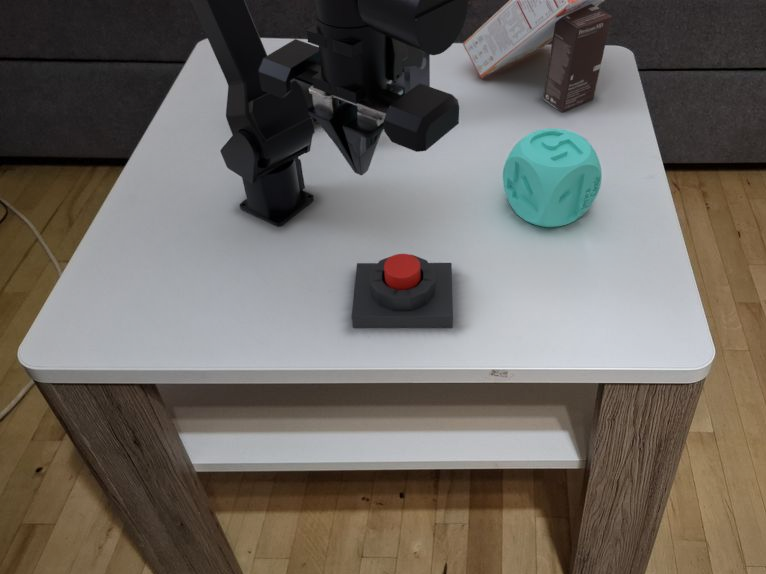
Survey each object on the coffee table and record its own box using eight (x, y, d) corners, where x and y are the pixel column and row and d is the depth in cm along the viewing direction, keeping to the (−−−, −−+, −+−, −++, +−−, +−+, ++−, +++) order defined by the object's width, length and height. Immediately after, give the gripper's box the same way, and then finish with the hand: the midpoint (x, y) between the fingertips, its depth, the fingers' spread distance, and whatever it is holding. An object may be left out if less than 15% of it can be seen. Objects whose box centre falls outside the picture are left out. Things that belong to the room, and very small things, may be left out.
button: (384, 290, 74) (383, 277, 73) (385, 266, 77) (384, 253, 76) (420, 290, 74) (420, 277, 73) (420, 266, 77) (420, 253, 75)
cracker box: (525, 11, 113) (623, -71, 95) (543, 48, 114) (644, -26, 96) (459, 41, 107) (550, -41, 89) (479, 80, 108) (573, 7, 90)
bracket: (413, 135, 99) (411, 64, 91) (364, 118, 102) (359, 48, 95) (446, 109, 103) (447, 39, 96) (399, 92, 106) (396, 24, 99)
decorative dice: (542, 237, 84) (550, 177, 78) (499, 201, 89) (504, 141, 83) (596, 212, 87) (608, 152, 81) (552, 178, 92) (560, 120, 86)
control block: (352, 328, 75) (349, 303, 73) (358, 274, 81) (355, 249, 78) (452, 328, 75) (453, 303, 72) (451, 274, 80) (451, 249, 78)
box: (563, 114, 101) (577, 27, 92) (541, 99, 104) (553, 13, 95) (596, 101, 104) (613, 14, 95) (574, 86, 106) (589, 1, 97)
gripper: (498, 4, 62) (486, 164, 74) (325, -46, 70) (339, 106, 81) (421, 59, 56) (421, 223, 68) (241, -2, 64) (269, 155, 75)
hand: (361, 172), depth 73 cm, fingers closed
